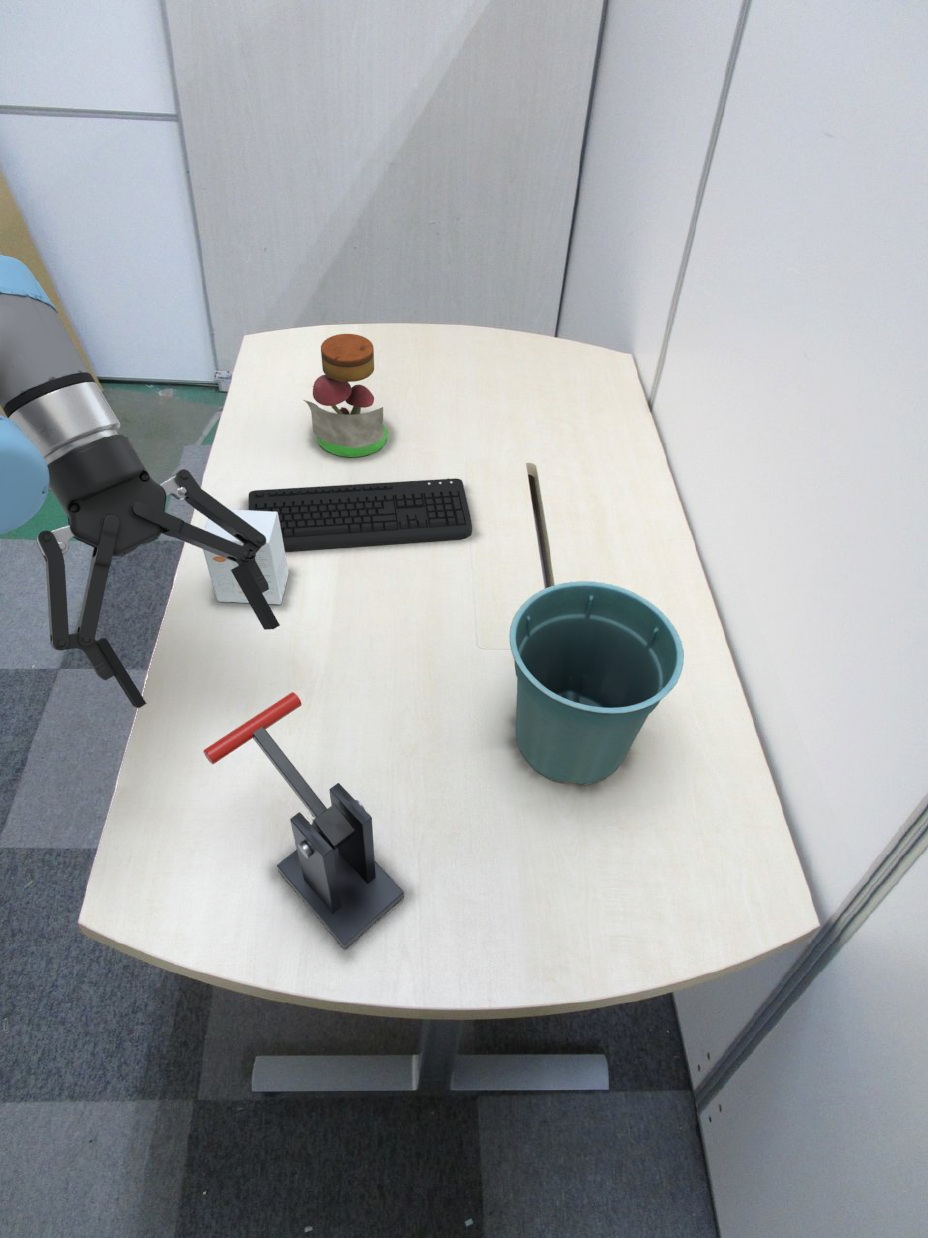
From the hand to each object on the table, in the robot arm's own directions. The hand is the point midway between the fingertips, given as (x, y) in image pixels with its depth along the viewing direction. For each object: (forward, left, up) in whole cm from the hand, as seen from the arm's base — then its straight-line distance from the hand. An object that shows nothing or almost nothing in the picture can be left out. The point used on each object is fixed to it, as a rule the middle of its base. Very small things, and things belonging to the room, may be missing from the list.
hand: (209, 665), depth 72 cm
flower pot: (+35, -9, -15) cm, 39 cm away
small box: (+6, +23, -15) cm, 28 cm away
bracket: (+7, -17, -14) cm, 24 cm away
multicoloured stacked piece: (+25, +51, -15) cm, 58 cm away
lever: (+5, -13, -3) cm, 14 cm away
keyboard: (+22, +32, -15) cm, 41 cm away
